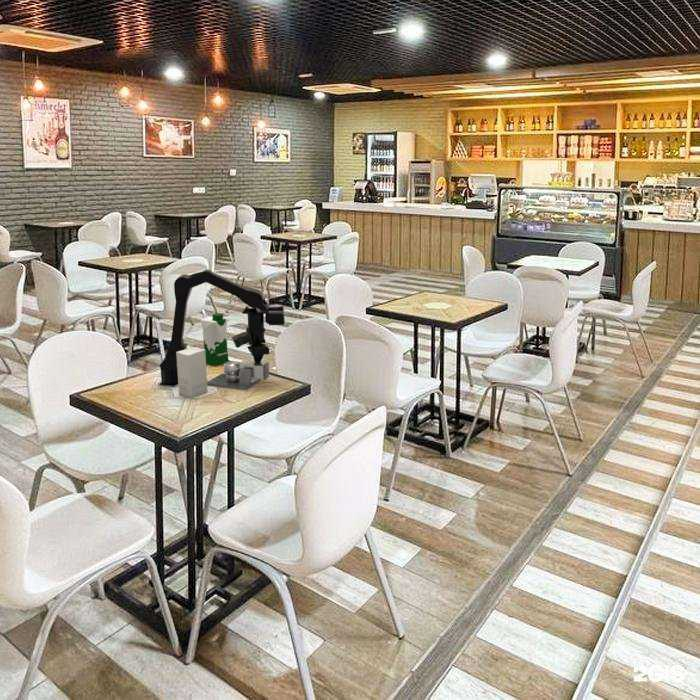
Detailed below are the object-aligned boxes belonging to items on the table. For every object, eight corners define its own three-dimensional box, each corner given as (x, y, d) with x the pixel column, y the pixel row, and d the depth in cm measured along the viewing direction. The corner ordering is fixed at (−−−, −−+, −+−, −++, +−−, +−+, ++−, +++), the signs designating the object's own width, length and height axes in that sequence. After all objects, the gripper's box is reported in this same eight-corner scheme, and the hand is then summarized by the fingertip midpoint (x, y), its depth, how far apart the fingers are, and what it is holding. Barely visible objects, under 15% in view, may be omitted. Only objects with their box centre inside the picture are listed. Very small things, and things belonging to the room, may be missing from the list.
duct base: (205, 385, 261) (204, 368, 259) (222, 376, 272) (221, 359, 270) (246, 390, 256) (245, 372, 254) (261, 380, 267) (260, 363, 265)
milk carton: (216, 367, 283) (213, 317, 278) (200, 363, 288) (197, 314, 283) (232, 362, 290) (230, 313, 285) (216, 358, 295) (213, 310, 290)
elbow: (221, 377, 261) (220, 364, 259) (228, 372, 267) (227, 359, 265) (264, 380, 258) (264, 366, 256) (270, 375, 264) (269, 361, 262)
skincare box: (195, 388, 258) (193, 346, 254) (209, 392, 254) (206, 349, 250) (177, 394, 251) (175, 351, 247) (191, 398, 247) (188, 354, 243)
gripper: (229, 320, 266) (231, 360, 270) (236, 333, 249) (238, 376, 253) (260, 318, 269) (261, 358, 273) (269, 331, 252) (270, 374, 256)
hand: (257, 366), depth 264 cm, fingers closed
